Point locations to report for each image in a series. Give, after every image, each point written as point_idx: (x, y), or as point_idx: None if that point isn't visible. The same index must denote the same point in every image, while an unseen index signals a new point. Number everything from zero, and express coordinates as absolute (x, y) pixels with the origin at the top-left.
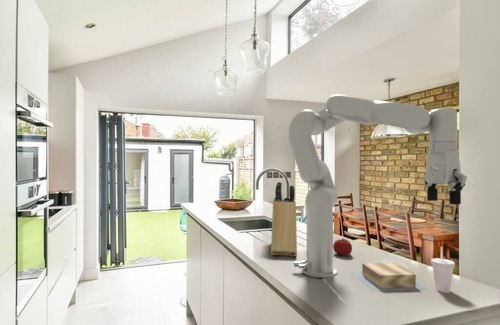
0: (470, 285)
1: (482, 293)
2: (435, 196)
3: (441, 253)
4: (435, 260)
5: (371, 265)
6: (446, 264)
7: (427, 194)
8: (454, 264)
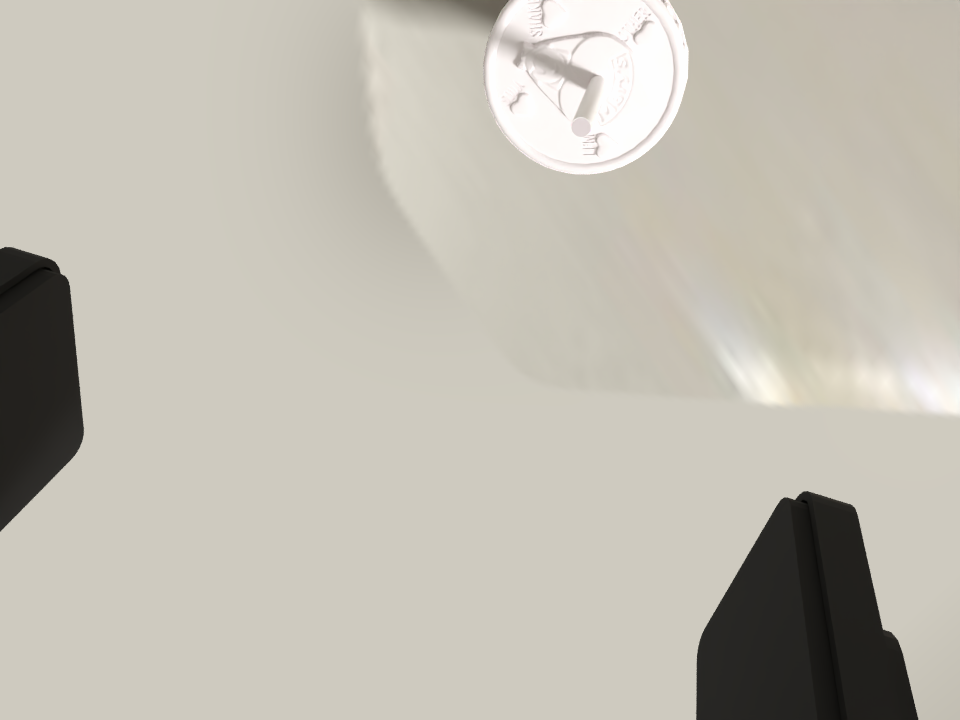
0: (618, 318)
1: (502, 255)
2: (719, 696)
3: (585, 96)
4: (633, 34)
5: None
6: (498, 16)
7: (879, 633)
8: (496, 116)
